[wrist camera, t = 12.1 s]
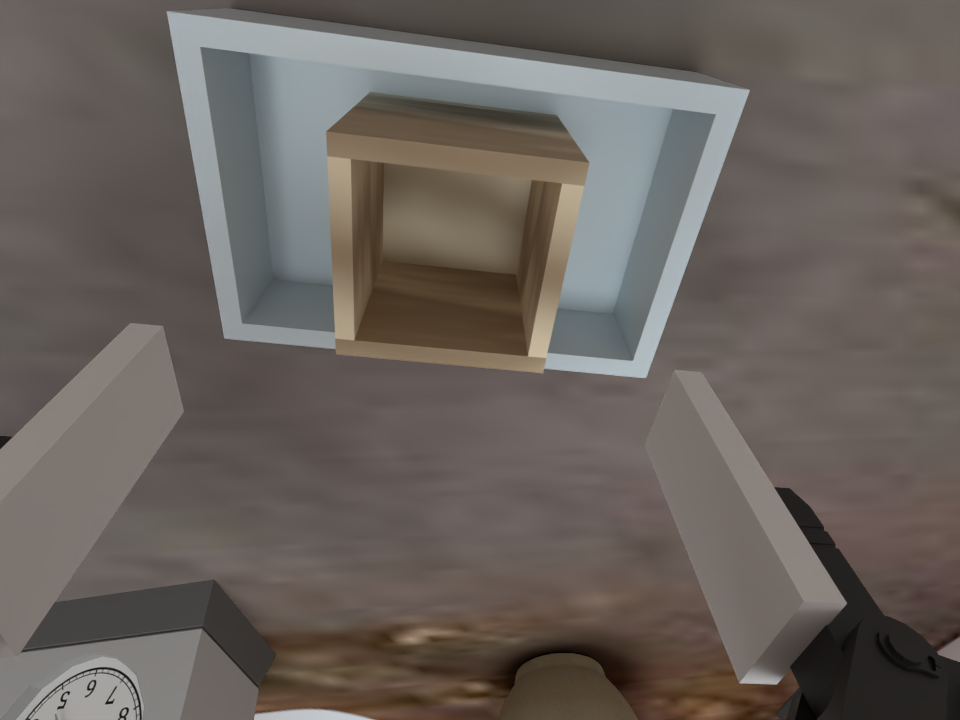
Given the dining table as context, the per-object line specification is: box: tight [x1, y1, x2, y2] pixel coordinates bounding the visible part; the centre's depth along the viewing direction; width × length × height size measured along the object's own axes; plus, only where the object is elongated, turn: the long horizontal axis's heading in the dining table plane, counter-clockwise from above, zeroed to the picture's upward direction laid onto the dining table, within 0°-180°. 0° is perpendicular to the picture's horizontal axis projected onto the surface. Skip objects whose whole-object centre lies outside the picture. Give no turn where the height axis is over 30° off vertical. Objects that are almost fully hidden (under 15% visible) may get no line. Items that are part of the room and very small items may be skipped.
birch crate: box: [326, 92, 589, 373], centre depth 24 cm, size 9×9×9 cm
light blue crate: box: [167, 8, 750, 378], centre depth 26 cm, size 14×22×6 cm, turn 83°
